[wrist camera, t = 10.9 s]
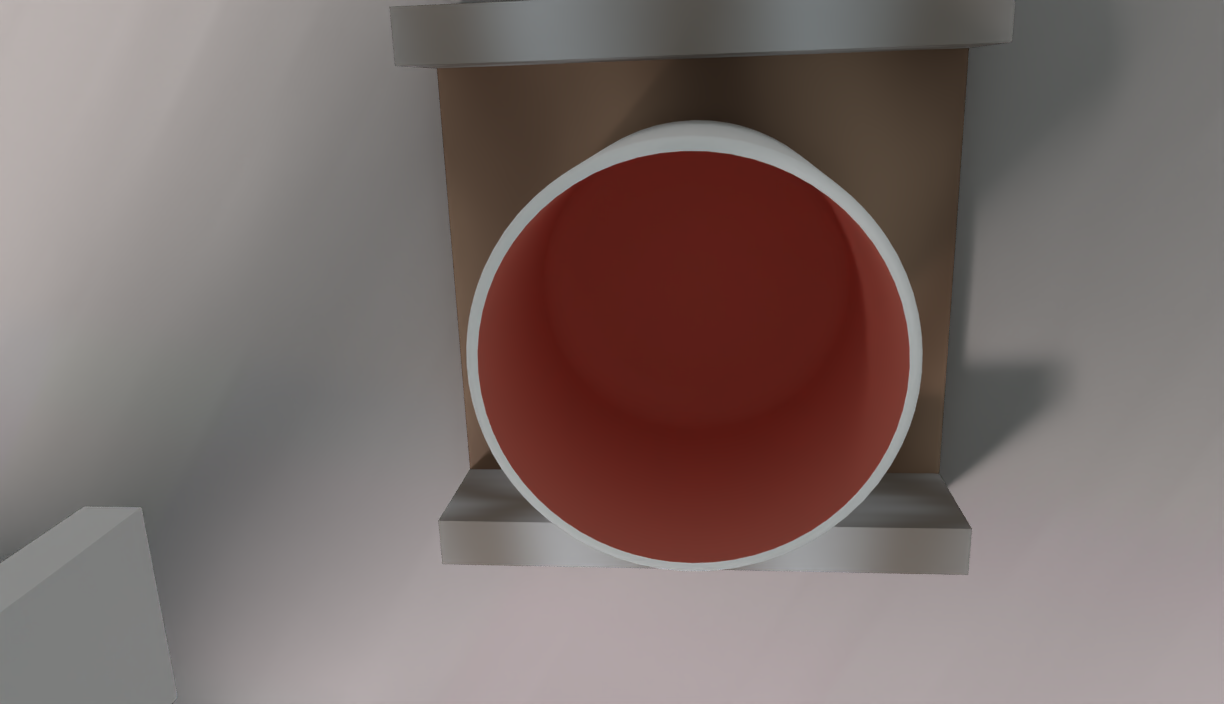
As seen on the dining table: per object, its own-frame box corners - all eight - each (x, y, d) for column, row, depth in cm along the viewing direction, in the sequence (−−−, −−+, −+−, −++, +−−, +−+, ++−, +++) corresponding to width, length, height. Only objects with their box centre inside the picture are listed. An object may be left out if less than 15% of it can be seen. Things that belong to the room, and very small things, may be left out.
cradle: (480, 496, 34) (442, 564, 29) (441, 19, 29) (389, 6, 24) (929, 501, 32) (968, 575, 27) (963, -4, 27) (1017, -22, 23)
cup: (488, 324, 31) (389, 432, 21) (643, 54, 28) (609, 39, 18) (740, 476, 31) (755, 647, 22) (918, 227, 28) (1024, 300, 19)
